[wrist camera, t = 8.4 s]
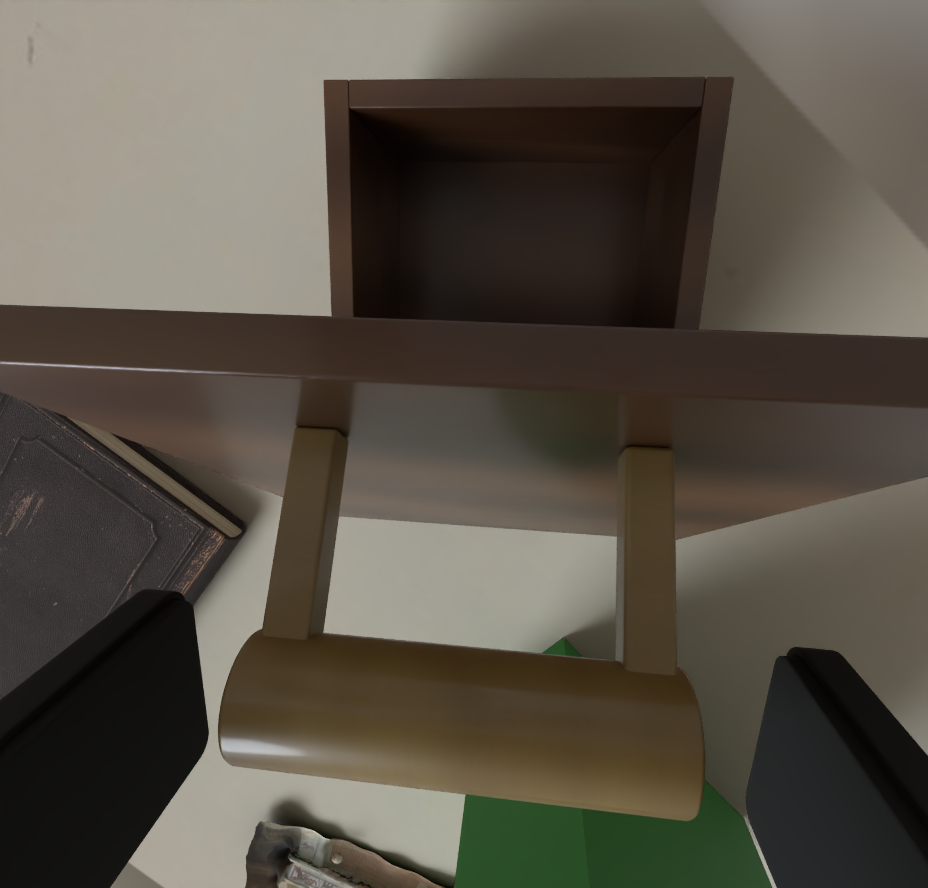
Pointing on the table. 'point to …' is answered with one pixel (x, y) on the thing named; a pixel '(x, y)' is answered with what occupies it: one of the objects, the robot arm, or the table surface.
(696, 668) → the table surface
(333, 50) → the table surface
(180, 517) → the hardcover book
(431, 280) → the dark brown open box
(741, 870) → the hardback book
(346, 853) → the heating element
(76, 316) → the lid
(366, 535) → the table surface
